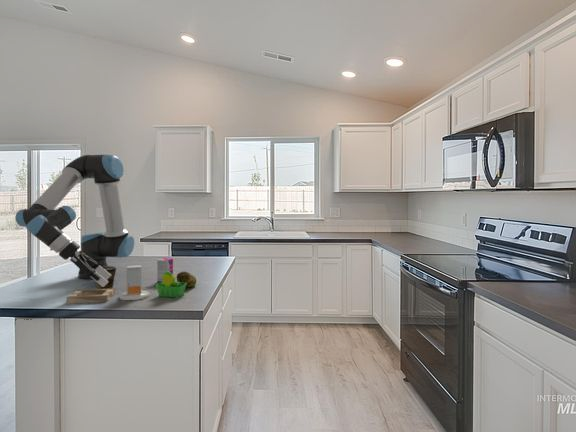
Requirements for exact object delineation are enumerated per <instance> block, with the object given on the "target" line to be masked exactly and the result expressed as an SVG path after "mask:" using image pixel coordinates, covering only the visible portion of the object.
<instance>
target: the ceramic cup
mask: <svg viewBox="0 0 576 432" xmlns="http://www.w3.org/2000/svg"><path fill="white" fill-rule="evenodd" d="M101 267H102V268H104V269H105V270H106V271H107V272H108V273H110V274H111V276H110V277H109V278H108V279H107V281H108V283H107V284H106V285H105V286H104V287H102V286H101V285H100V284H98V283H97V282H96V281H95V280H94V283H95V289H114V288H113V287H114V282H115V281H114V280H115V277H116V273H117V267H116V266H114V265H113V266H112V265H108V266H101ZM93 270H94V272H95V269H93ZM98 274H99V273H98Z"/></svg>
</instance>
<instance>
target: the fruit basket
mask: <svg viewBox="0 0 576 432" xmlns="http://www.w3.org/2000/svg"><path fill="white" fill-rule="evenodd" d="M186 284H187V283H181V282H178V281H177V280H176V276H175V275H174V274H173V275H172V274H171V273H170V272H169V271H167V272H165V273H164V274H163V280H162V283H156V284H155V288H156V290H157V293H158V296H159V297H165V298H167V297H168V298H180V297H182V296H183V295H184V294H185V290H186V288H187V287H186Z"/></svg>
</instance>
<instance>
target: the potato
mask: <svg viewBox="0 0 576 432" xmlns="http://www.w3.org/2000/svg"><path fill="white" fill-rule="evenodd" d="M177 281H178V282H181V283H187V284H186V287H185V288H192V287H194V286H195V285H196V284H197V278H196V277H195V276H194V275H192V274H191V273H189V272H187V271H181V272H178V273H177V274H176V282H177Z"/></svg>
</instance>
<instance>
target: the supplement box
mask: <svg viewBox="0 0 576 432" xmlns="http://www.w3.org/2000/svg"><path fill="white" fill-rule="evenodd" d="M156 266H157V267H156V268H157V269H156V273H157V275H156V277H157V278H156V280H157V281H156V283H157V284H159V283H162V280H163V274H164V273H165V272H167V271H169V272H170V273H171V274H172V275H174V259H173V258H165V257H163V258H159V259H157V265H156Z"/></svg>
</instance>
